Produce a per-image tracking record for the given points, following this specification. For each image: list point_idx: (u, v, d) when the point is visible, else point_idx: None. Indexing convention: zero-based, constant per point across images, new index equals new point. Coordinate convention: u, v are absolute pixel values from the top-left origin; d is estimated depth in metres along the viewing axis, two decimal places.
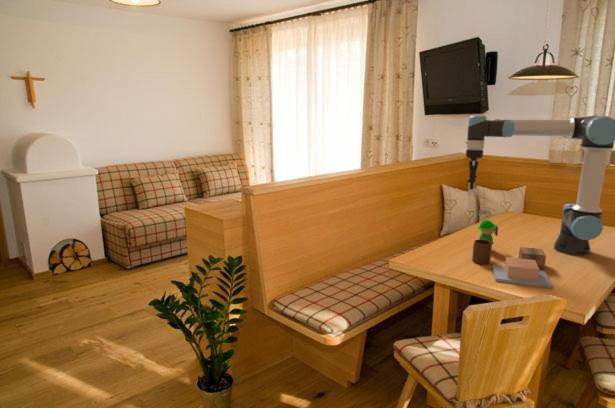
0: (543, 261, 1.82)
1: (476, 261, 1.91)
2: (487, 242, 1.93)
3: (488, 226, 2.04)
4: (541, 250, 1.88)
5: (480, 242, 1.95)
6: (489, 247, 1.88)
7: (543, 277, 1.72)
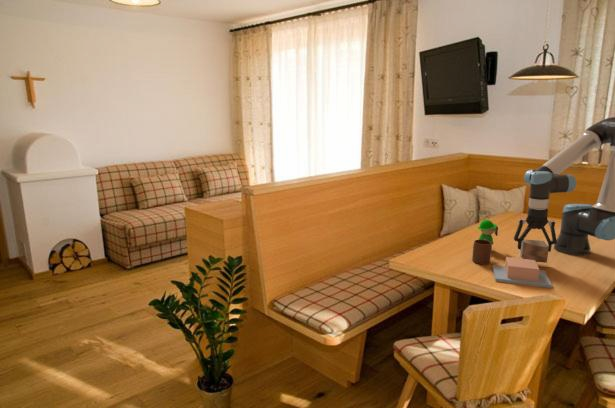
0: (546, 253, 1.82)
1: (476, 261, 1.91)
2: (487, 242, 1.93)
3: (488, 226, 2.04)
4: (543, 242, 1.87)
5: (480, 242, 1.95)
6: (489, 247, 1.88)
7: (543, 277, 1.72)
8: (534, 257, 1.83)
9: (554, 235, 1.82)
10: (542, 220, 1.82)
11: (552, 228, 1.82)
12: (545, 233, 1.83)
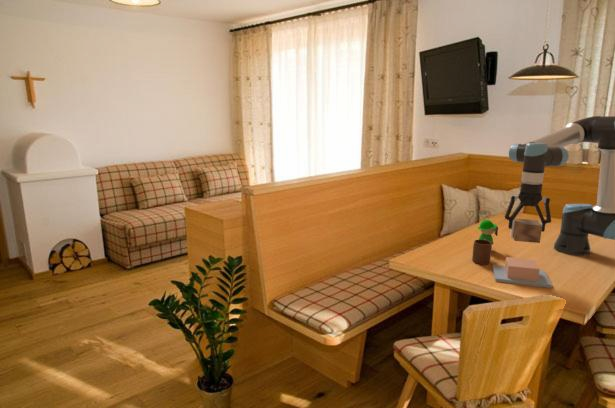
0: (539, 232, 1.66)
1: (476, 261, 1.91)
2: (487, 242, 1.93)
3: (488, 226, 2.04)
4: (536, 221, 1.72)
5: (480, 242, 1.95)
6: (489, 247, 1.88)
7: (543, 277, 1.72)
8: (526, 236, 1.67)
9: (548, 213, 1.66)
10: (536, 196, 1.66)
11: (546, 205, 1.66)
12: (539, 211, 1.67)
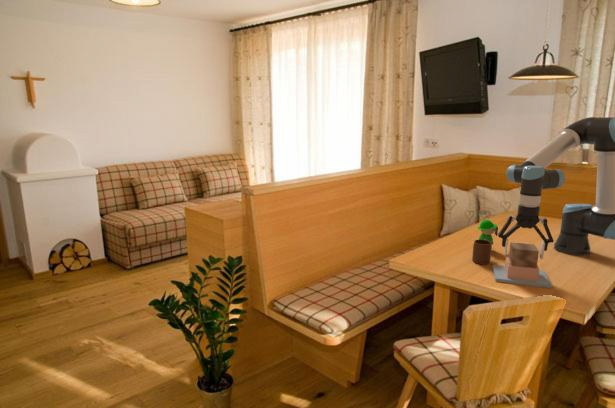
0: (536, 257, 1.68)
1: (476, 261, 1.91)
2: (487, 242, 1.93)
3: (488, 226, 2.04)
4: (533, 245, 1.74)
5: (480, 242, 1.95)
6: (489, 247, 1.88)
7: (543, 277, 1.72)
8: (523, 261, 1.70)
9: (549, 233, 1.68)
10: (533, 219, 1.69)
11: (545, 226, 1.67)
12: (539, 232, 1.69)
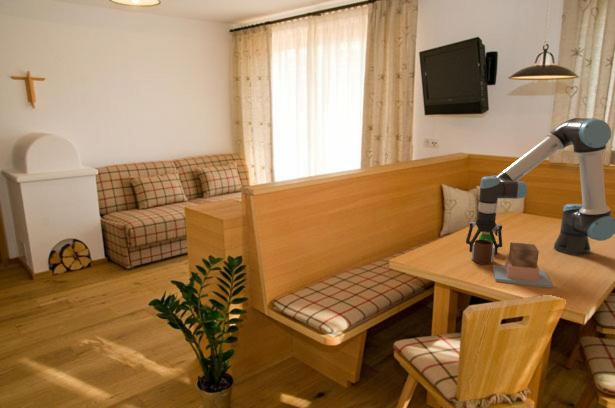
0: (536, 257, 1.68)
1: (477, 261, 1.91)
2: (488, 242, 1.93)
3: None
4: (533, 245, 1.74)
5: (481, 242, 1.94)
6: (490, 247, 1.88)
7: (543, 277, 1.72)
8: (523, 261, 1.70)
9: (500, 239, 1.89)
10: (490, 223, 1.89)
11: (499, 232, 1.89)
12: (492, 236, 1.90)
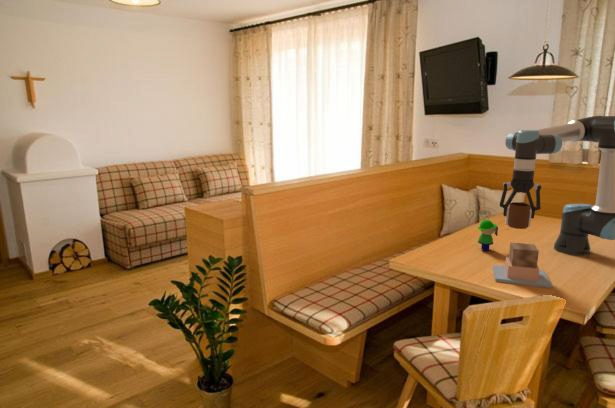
0: (536, 257, 1.68)
1: (513, 225, 1.71)
2: (525, 205, 1.73)
3: (488, 226, 2.04)
4: (533, 245, 1.74)
5: (516, 205, 1.74)
6: (528, 209, 1.68)
7: (543, 277, 1.72)
8: (523, 261, 1.70)
9: (538, 200, 1.69)
10: (528, 183, 1.69)
11: (537, 192, 1.69)
12: (529, 197, 1.70)
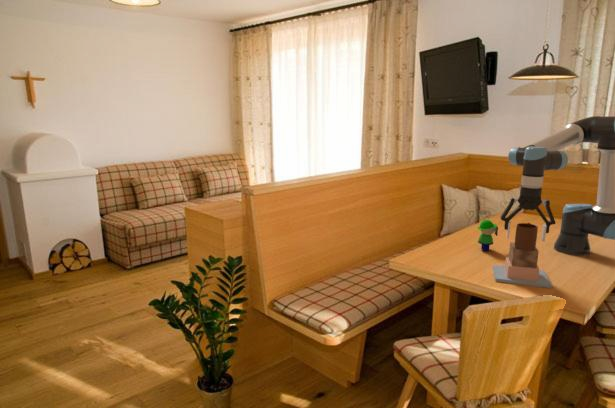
0: (536, 257, 1.68)
1: (520, 247, 1.68)
2: (531, 226, 1.71)
3: (488, 226, 2.04)
4: None
5: (523, 226, 1.72)
6: (535, 231, 1.66)
7: (543, 277, 1.72)
8: (523, 261, 1.70)
9: (551, 215, 1.66)
10: (535, 200, 1.67)
11: (547, 208, 1.66)
12: (541, 213, 1.67)
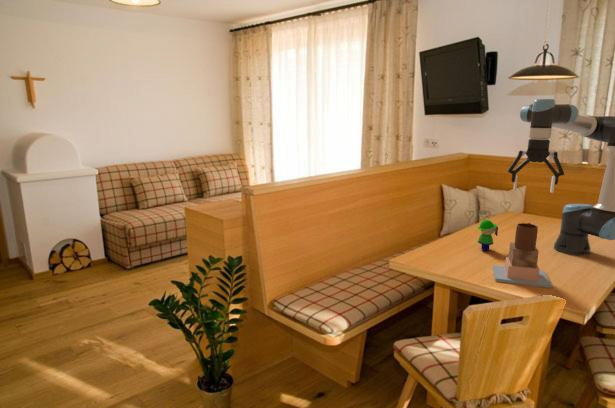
0: (536, 257, 1.68)
1: (520, 247, 1.68)
2: (531, 226, 1.71)
3: (488, 226, 2.04)
4: None
5: (523, 226, 1.72)
6: (535, 231, 1.66)
7: (543, 277, 1.72)
8: (523, 261, 1.70)
9: (559, 166, 1.69)
10: (543, 153, 1.70)
11: (556, 159, 1.68)
12: (549, 165, 1.70)
